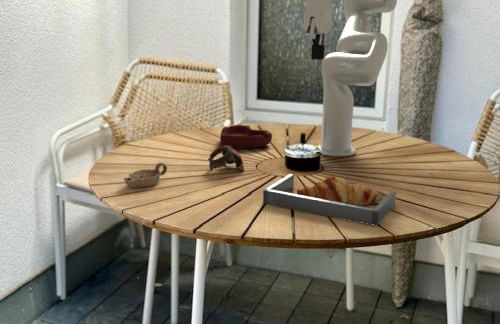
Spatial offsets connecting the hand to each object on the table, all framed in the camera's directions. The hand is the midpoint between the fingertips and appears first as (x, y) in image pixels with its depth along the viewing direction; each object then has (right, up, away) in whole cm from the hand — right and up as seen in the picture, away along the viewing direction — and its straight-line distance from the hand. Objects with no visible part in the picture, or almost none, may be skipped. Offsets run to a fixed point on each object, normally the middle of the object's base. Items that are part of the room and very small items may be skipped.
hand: (317, 58), depth 164 cm
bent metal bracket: (0, -39, -20) cm, 44 cm away
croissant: (+3, -39, -19) cm, 44 cm away
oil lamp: (-46, -35, -7) cm, 59 cm away
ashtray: (-22, -24, +33) cm, 46 cm away
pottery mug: (-25, -31, +6) cm, 41 cm away
